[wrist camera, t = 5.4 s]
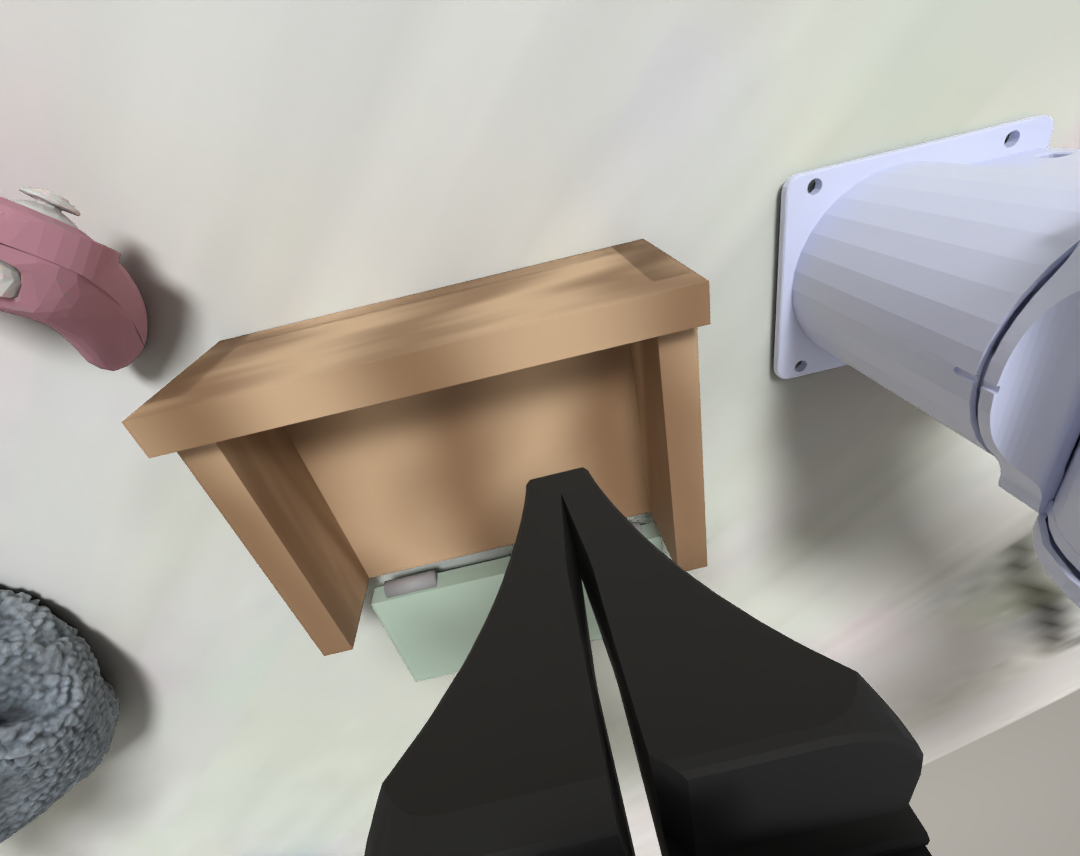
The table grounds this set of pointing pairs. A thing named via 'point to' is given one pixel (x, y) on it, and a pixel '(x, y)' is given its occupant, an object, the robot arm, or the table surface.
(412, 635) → the panel
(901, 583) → the table surface
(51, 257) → the video game controller
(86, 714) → the koala plush
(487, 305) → the crate
